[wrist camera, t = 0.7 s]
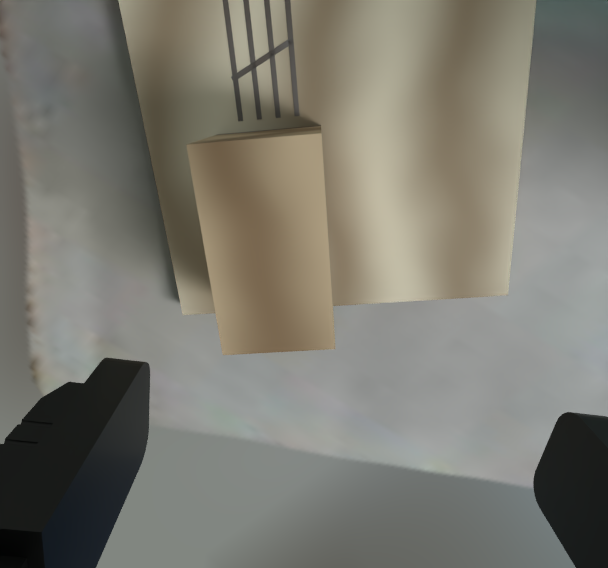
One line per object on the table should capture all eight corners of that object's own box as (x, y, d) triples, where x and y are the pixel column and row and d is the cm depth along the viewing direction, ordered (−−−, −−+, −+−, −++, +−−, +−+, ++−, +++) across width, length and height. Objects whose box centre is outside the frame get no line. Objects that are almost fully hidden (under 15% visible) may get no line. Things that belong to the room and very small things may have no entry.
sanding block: (321, 125, 21) (321, 133, 16) (332, 297, 25) (335, 348, 20) (217, 134, 22) (186, 144, 17) (242, 303, 25) (222, 355, 20)
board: (549, -279, 17) (566, -307, 16) (499, 286, 25) (508, 295, 24) (85, -216, 18) (69, -237, 17) (188, 305, 27) (182, 315, 25)
